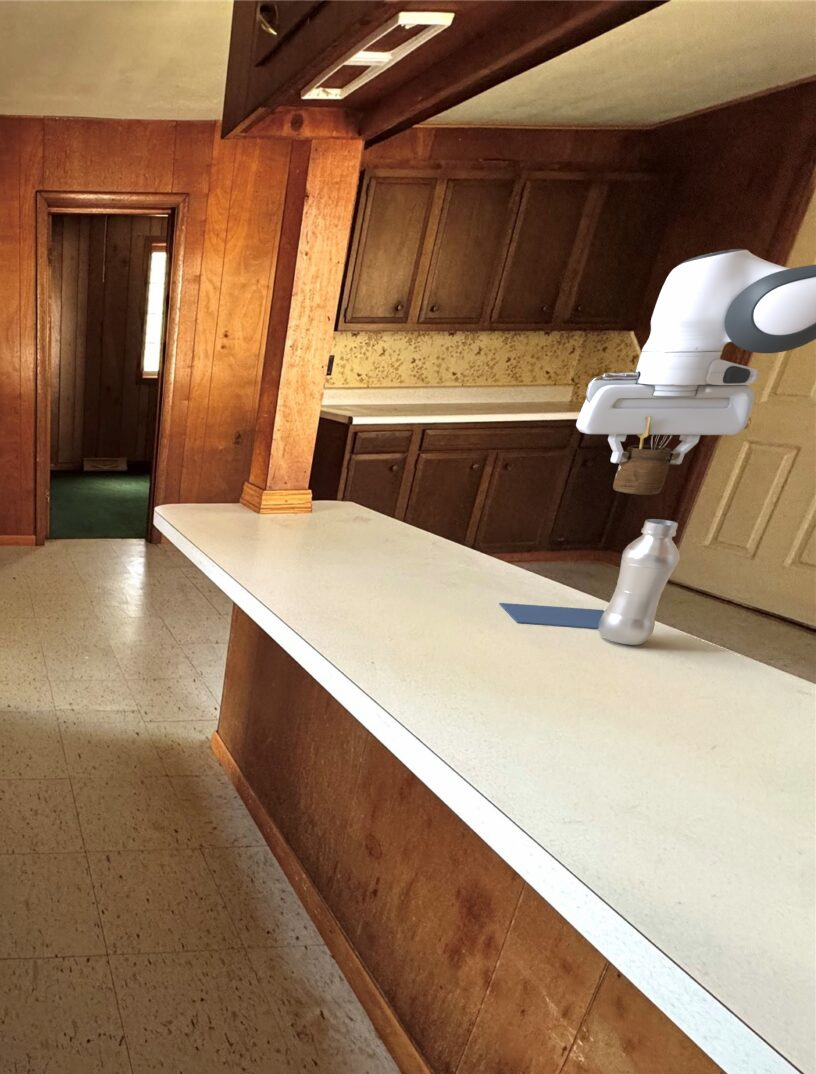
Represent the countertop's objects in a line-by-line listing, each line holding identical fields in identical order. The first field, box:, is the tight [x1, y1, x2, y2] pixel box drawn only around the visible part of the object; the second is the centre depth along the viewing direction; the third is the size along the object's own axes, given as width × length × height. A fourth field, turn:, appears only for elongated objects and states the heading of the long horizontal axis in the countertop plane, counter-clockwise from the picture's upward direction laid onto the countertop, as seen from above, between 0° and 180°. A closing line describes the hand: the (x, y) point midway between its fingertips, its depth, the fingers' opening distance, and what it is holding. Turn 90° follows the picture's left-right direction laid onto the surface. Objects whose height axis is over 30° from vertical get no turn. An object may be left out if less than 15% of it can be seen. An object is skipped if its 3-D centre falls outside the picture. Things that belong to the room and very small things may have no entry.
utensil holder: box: [612, 417, 673, 496], centre depth 105 cm, size 6×6×12 cm
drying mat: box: [498, 602, 605, 630], centre depth 117 cm, size 16×9×1 cm, turn 73°
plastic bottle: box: [597, 518, 681, 646], centre depth 104 cm, size 6×7×20 cm
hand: (645, 463), depth 105 cm, fingers closed on utensil holder, 5 cm apart
